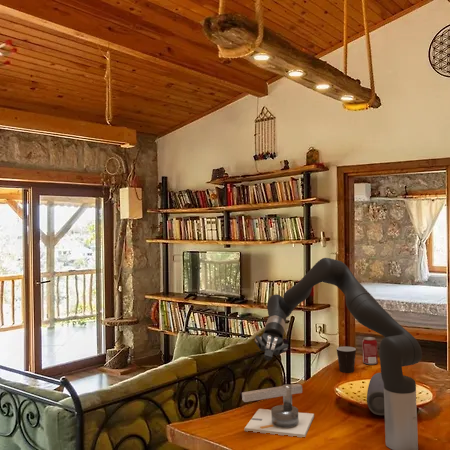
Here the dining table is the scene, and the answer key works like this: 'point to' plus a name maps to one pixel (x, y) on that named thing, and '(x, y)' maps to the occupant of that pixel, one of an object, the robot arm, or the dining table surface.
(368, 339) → the soda can
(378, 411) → the bluetooth speaker
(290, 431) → the board
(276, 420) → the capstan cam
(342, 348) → the coffee mug
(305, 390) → the dining table surface
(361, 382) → the dining table surface
